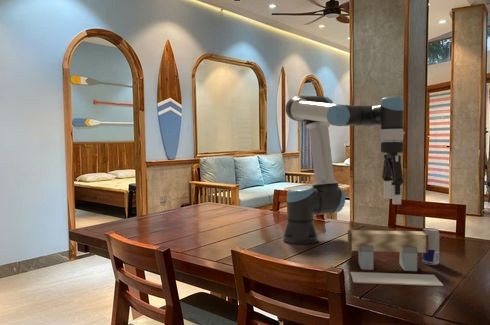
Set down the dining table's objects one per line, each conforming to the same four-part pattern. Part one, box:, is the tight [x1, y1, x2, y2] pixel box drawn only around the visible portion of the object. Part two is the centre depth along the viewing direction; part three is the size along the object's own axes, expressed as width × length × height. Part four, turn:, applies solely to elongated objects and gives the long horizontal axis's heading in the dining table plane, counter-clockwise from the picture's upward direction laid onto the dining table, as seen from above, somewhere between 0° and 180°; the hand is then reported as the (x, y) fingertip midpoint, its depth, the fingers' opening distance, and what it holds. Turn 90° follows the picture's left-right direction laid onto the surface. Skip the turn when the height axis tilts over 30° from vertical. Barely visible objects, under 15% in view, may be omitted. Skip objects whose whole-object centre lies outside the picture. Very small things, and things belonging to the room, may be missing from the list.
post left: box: [357, 245, 375, 271], centre depth 140 cm, size 4×7×8 cm, turn 171°
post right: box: [399, 247, 418, 272], centre depth 138 cm, size 4×7×8 cm, turn 171°
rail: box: [347, 229, 429, 254], centre depth 139 cm, size 26×5×6 cm, turn 81°
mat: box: [350, 271, 444, 287], centre depth 127 cm, size 26×9×1 cm, turn 81°
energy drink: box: [421, 227, 440, 266], centre depth 143 cm, size 5×5×12 cm
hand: (391, 201), depth 144 cm, fingers open, 13 cm apart
